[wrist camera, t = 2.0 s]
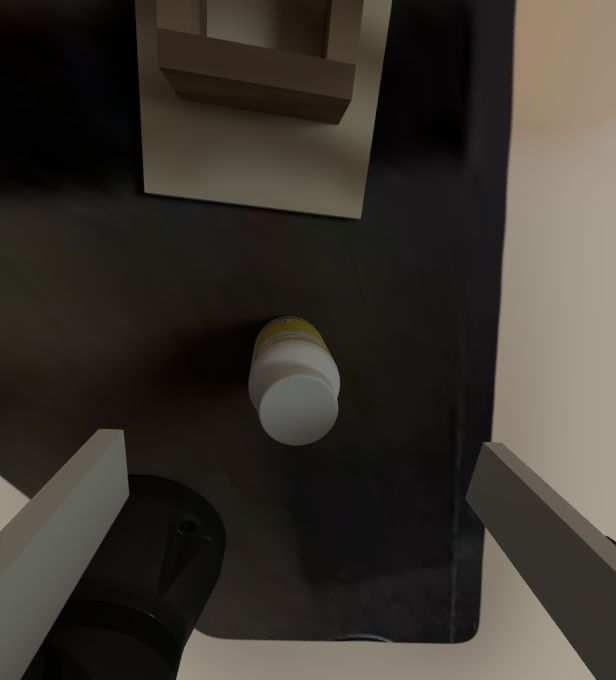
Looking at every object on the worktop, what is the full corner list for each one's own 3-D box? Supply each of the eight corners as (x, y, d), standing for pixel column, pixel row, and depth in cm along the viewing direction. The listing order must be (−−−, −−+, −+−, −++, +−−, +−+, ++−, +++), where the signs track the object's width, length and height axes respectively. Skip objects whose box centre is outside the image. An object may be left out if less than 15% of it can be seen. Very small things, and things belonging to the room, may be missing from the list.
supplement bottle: (308, 386, 25) (326, 469, 16) (245, 366, 24) (227, 442, 15) (333, 328, 24) (369, 381, 15) (268, 304, 23) (263, 345, 14)
